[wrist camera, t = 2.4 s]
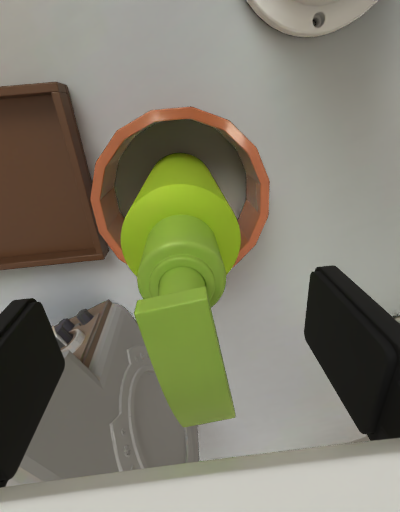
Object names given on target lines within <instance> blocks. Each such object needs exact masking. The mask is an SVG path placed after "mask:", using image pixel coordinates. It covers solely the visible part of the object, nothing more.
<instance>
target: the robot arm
mask: <svg viewBox="0 0 400 512" xmlns="http://www.w3.org/2000/svg"><path fill="white" fill-rule="evenodd" d="M246 1H247V2H248V3H249V5H250V6H251V7H252V8H253V10H254V11H255V12H256V14H257V15H258V16H259V17H260V18H261V19H263V20H264V21H265V22H266V23H267V24H268V25H270V26H271V27H273V28H275V29H277V30H279V31H280V32H282V33H284V34H288V35H292V36H297V37H318V36H321V35H325V34H329V33H332V32H334V31H336V30H338V29H340V28H342V27H344V26H346V25H348V24H350V23H351V22H353V21H354V20H356V19H357V18H359V17H361V16H362V15H363V14H364V13H365V12H366V11H368V10H369V9H370V8H371V7H372V6H373V5H374V4H375V3H376V2H377V1H378V0H246ZM312 20H315V21H316V26H314V25H313V21H312ZM304 335H305V339H306V342H307V343H308V345H309V347H310V348H311V350H312V352H313V354H314V355H315V357H316V359H317V360H318V362H319V364H320V365H321V367H322V369H323V370H324V372H325V374H326V376H327V377H328V379H329V381H330V382H331V384H332V386H333V387H334V389H335V391H336V392H337V394H338V396H339V397H340V399H341V401H342V403H343V404H344V406H345V408H346V409H347V411H348V413H349V414H350V416H351V418H352V419H353V421H354V423H355V425H356V426H357V428H358V429H359V431H360V432H361V433H363V434H367V436H368V437H369V439H370V441H365V442H355V443H346V444H336V445H328V446H320V447H312V448H303V449H295V450H287V451H279V452H271V453H263V454H255V455H246V456H238V457H230V458H222V459H215V460H207V461H199V462H191V463H183V464H175V465H168V466H160V467H152V468H144V469H137V470H129V471H121V472H113V473H106V474H98V475H91V476H83V477H76V478H68V479H61V480H53V481H46V482H39V483H31V484H24V485H16V486H9V487H5V486H6V484H7V482H8V480H9V479H11V478H13V477H14V475H15V474H16V472H17V470H18V468H19V466H20V464H21V462H22V459H23V457H24V455H25V453H26V451H27V449H28V446H29V444H30V442H31V440H32V438H33V436H34V434H35V431H36V429H37V427H38V425H39V423H40V421H41V418H42V416H43V414H44V412H45V410H46V408H47V406H48V403H49V401H50V399H51V397H52V395H53V393H54V390H55V388H56V386H57V384H58V382H59V380H60V378H61V375H62V373H63V371H64V368H65V359H64V357H63V354H62V352H61V349H60V347H59V344H58V342H57V340H56V337H55V335H54V332H53V330H52V327H51V325H50V323H49V320H48V318H47V315H46V313H45V310H44V308H43V306H42V304H41V303H40V302H37V301H36V300H35V299H33V298H30V299H21V300H14V301H12V302H11V303H10V304H9V305H8V306H7V307H6V308H5V309H4V311H3V312H2V313H1V314H0V512H400V323H399V322H397V321H396V320H395V319H394V318H393V317H392V316H391V315H390V314H389V313H387V312H386V311H385V310H384V309H383V308H382V307H381V306H380V305H379V304H377V303H376V302H375V301H374V300H373V299H372V298H371V297H370V296H369V295H367V294H366V293H365V292H364V291H363V290H362V289H361V288H360V287H358V286H357V285H356V284H355V283H354V282H353V281H352V280H351V279H350V278H348V277H347V276H346V275H345V274H344V273H343V272H342V271H341V270H340V269H338V268H337V267H336V266H323V267H317V268H316V269H315V272H312V273H311V275H310V282H309V292H308V301H307V310H306V319H305V328H304Z"/></svg>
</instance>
